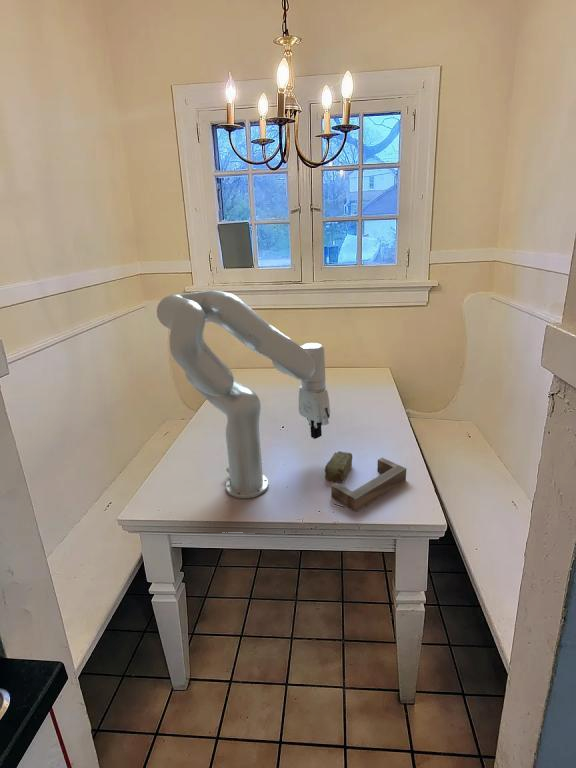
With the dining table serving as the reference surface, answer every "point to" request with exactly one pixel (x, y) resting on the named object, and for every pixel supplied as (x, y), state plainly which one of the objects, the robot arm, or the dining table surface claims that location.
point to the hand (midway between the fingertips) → (316, 436)
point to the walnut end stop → (370, 486)
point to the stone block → (338, 467)
